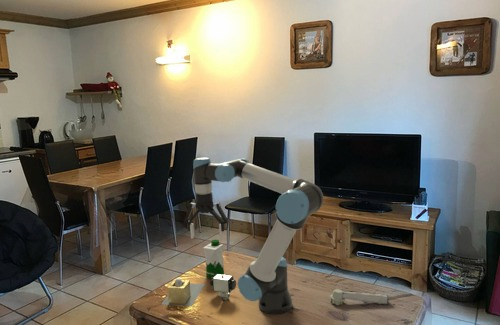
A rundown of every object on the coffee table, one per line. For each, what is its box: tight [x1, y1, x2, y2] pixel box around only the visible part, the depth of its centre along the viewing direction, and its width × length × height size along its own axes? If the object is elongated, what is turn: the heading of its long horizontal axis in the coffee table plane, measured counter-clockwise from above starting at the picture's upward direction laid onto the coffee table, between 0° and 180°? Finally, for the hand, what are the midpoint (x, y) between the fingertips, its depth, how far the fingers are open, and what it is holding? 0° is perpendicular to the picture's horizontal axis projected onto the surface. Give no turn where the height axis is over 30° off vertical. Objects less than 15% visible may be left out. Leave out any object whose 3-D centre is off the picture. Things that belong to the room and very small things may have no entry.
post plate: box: [160, 278, 206, 307], centre depth 194 cm, size 15×22×12 cm
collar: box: [167, 279, 191, 304], centre depth 188 cm, size 8×8×8 cm
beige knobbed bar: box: [329, 288, 390, 306], centre depth 181 cm, size 5×7×25 cm
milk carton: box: [203, 239, 225, 279], centre depth 212 cm, size 9×9×20 cm
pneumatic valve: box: [209, 273, 237, 301], centre depth 191 cm, size 6×12×12 cm, turn 68°
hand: (207, 238), depth 183 cm, fingers open, 13 cm apart
